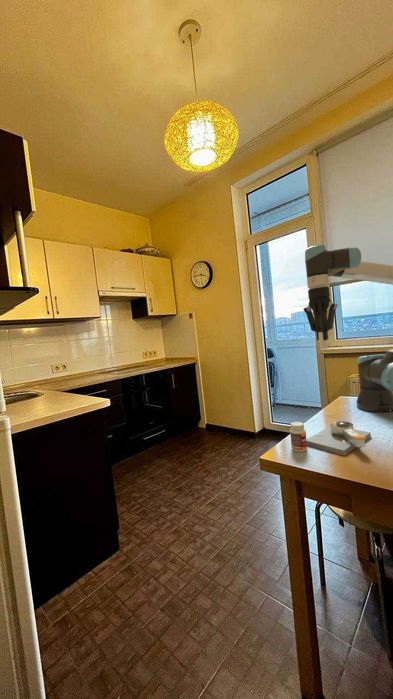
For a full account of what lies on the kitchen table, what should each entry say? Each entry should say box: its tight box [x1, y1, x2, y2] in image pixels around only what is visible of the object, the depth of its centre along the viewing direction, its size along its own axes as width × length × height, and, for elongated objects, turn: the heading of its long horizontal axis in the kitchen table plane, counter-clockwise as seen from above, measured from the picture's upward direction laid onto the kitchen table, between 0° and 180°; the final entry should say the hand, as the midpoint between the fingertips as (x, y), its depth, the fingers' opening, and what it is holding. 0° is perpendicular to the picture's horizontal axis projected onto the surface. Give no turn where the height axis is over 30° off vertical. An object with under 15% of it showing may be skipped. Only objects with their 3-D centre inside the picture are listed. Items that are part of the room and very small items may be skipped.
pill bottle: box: [289, 421, 308, 453], centre depth 93 cm, size 5×5×8 cm
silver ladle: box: [329, 420, 366, 448], centre depth 93 cm, size 16×7×4 cm, turn 177°
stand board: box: [306, 426, 372, 456], centre depth 96 cm, size 18×14×2 cm
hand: (323, 348), depth 112 cm, fingers closed
